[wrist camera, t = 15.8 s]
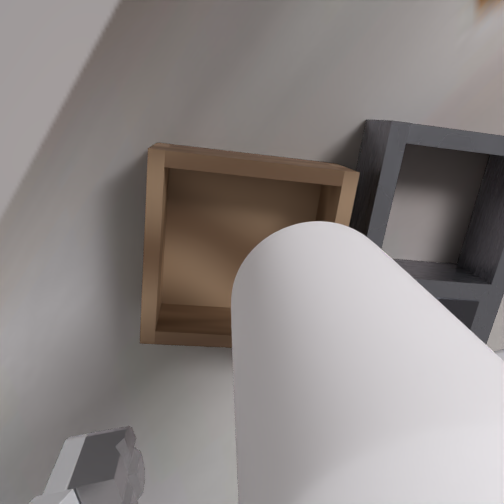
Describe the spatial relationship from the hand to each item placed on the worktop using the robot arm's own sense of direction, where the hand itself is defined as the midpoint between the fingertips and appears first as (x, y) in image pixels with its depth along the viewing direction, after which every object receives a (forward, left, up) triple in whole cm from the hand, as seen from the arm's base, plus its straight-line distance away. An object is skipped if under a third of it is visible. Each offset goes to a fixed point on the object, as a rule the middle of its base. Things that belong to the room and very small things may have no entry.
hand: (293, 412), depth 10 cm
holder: (0, 0, -16) cm, 16 cm away
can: (0, +2, -7) cm, 7 cm away
